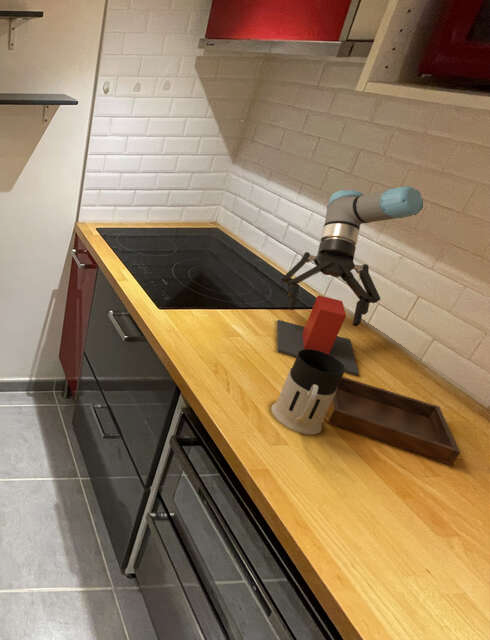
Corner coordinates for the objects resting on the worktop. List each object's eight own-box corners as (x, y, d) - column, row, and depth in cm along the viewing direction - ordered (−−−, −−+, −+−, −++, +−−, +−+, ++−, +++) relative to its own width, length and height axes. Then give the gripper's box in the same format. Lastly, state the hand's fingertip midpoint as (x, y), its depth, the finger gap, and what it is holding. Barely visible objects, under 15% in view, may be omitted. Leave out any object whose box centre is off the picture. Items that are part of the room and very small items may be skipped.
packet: (325, 339, 117) (342, 300, 113) (328, 355, 111) (346, 315, 106) (302, 333, 120) (317, 295, 115) (303, 348, 114) (320, 309, 109)
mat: (348, 341, 118) (350, 339, 118) (357, 376, 106) (358, 373, 106) (277, 321, 126) (278, 319, 126) (277, 351, 114) (278, 349, 113)
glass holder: (322, 415, 94) (349, 359, 88) (318, 459, 84) (348, 399, 78) (274, 396, 99) (296, 341, 93) (264, 435, 89) (288, 377, 83)
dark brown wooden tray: (431, 419, 94) (439, 406, 93) (451, 466, 84) (460, 452, 82) (322, 384, 103) (328, 372, 102) (327, 422, 93) (334, 409, 91)
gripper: (391, 260, 118) (379, 335, 113) (279, 238, 130) (263, 305, 125) (405, 249, 112) (392, 328, 106) (286, 227, 124) (269, 297, 119)
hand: (323, 316), depth 116 cm, fingers open, 13 cm apart
